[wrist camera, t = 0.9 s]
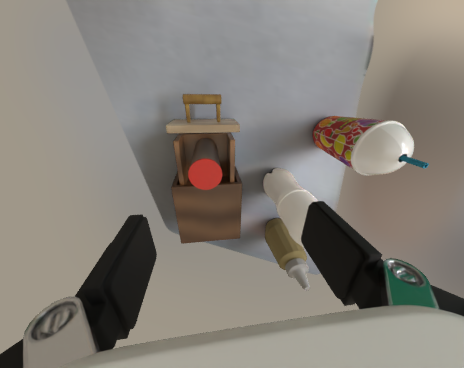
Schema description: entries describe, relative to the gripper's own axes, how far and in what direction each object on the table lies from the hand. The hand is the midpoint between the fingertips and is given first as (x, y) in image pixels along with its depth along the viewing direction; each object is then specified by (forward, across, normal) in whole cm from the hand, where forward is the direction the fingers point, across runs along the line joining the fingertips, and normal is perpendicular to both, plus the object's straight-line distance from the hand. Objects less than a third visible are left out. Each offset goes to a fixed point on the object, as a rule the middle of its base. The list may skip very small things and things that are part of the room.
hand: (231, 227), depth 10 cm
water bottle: (+29, -14, +11) cm, 34 cm away
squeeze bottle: (+29, -16, +26) cm, 42 cm away
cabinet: (+29, +2, +14) cm, 32 cm away
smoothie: (+28, -24, 0) cm, 37 cm away
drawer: (+28, +2, +1) cm, 28 cm away
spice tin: (+26, +2, +2) cm, 27 cm away
